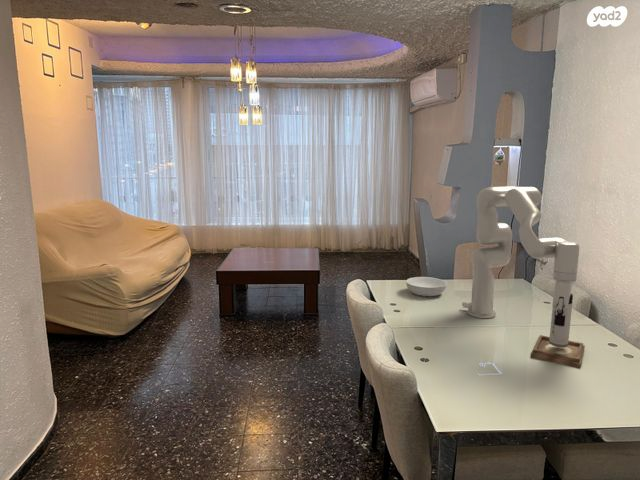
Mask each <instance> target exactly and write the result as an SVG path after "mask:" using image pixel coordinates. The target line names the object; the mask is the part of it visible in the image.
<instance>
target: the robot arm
mask: <svg viewBox="0 0 640 480" xmlns="http://www.w3.org/2000/svg"><path fill="white" fill-rule="evenodd" d="M541 202H542V194H541V192H540V190H539V189H538V188H536V187H534V186H521V185H520V186H519V185H512V186H511V185H508V186H507V185H505V186H504V185H503V186H490V187H486V188H483V189H481V190H480V191H479V192H478V195H477V197H476V207H477V220H476V221H477V222H476V233H475V234H476V242H478V244H480V245H483V246H484V247H483V246H482V247H478V248H476V249H474V250H473V251H472V252H471V255H470V260H471V266H472V282H471V299H470V300H471V301H470V302H464V301H462V303H461V305H462V307H463V308H464V309H465V308H467V314H468V315H469V316H470V317H473V318H478V319H492V318H495V317H496V315H497V312H496V311H495V310H494V294H495V276H494V273H493V271H492V268H500V267H505V266H507V265H508V264H509V263H510V261H511V255H512V243H513V232H512V229H511V227H510V225H509V224H507V223H505V222H498V219H499V213H498V211H497V208H496V207H508V208H509V209H510V211H511V213H512V214H513V215H514V217H515V219H516V220H517V221H518V223H519V225H520V226H519V230H518V235H519V241H520V244H521V245H522V247H523V248H524V250H525V252H526V253H527V254H528V255H529V256H530V257H531V258H532V259H538V260H542V259H550V258H551V259H554V260H553V261H554V262H553V273H552V279H553V280H555V282H554V289H553V299H552V307H554V306H556V305H557V309H556V314H555V323H554V324H555V325H557V326H564V325H565V316H564V315H565V309H566V308H567V307H568V304H569V299H570V296H571V294H572V289H573V283H575V282H576V281H577V277H578V276H577V275H578V267H579V258H580V257H579V256H580V255H579V254H580V244H579V243H577V242H576V241H575V242H574V241H569V240H566V239H563V238H562V237H557V236H555V237H540V238H538V236H537V235H536V234H535V232H534V231H533V228H532V227H533V226H535V225H536V224H538V223H539V221H540V220H541V219H542V213H541V211H540V210H539V208H538V206H540V204H541ZM486 245H487V246H486ZM489 245H494V246H489ZM563 300H564V301H563ZM558 302H559V303H558ZM562 306H564V307H562ZM562 309H563V310H562Z"/></svg>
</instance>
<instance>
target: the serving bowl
mask: <svg viewBox="0 0 640 480" xmlns="http://www.w3.org/2000/svg"><path fill="white" fill-rule="evenodd" d="M405 281H406V287H407V290H408V291H410V292H411V293H412V294H414V295H417V296H420V295H421V296H420V297H426V296H429V297H436V296H439V295H441V294H442V293H444V292H445V290H446V288H447V285H448V284H447V281H445V280H443V279H440V278H436V277H432V276H431V277H429V276H415V277H409V278H407V280H405Z"/></svg>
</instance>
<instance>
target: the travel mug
mask: <svg viewBox="0 0 640 480" xmlns="http://www.w3.org/2000/svg"><path fill="white" fill-rule="evenodd" d="M573 298H574V295H573V293H571V296H570V299H569V304H568V307H567V308H566V309H565V315H564V316H565V325H564V326H557V325H555V324H554V323H555V314H556V309H557V305H556V306H554V307H553V306H552V307H551V308H552V309H551V317H550V318H551V319H550V328H549V329H550V330H549V337H550V339H549V343H550V344H551V345H553V346H556V347H567V346H568V340H569V339H570V328H571V321H572V310H573ZM563 301H564V300H563ZM558 303H559V302H558ZM562 307H564V306H562ZM562 310H563V309H562ZM569 341H570V340H569Z"/></svg>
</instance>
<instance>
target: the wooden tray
mask: <svg viewBox="0 0 640 480" xmlns="http://www.w3.org/2000/svg"><path fill="white" fill-rule="evenodd" d="M549 339H550V336H546V335H542V334H541V335H540V334H539V336H538V338H537V340H536V341H535V344H534V347H532V351H531V353H530V358H533V359H538V360H541V361H546V362H551V363H555V364H561V365H564V366H571V367H573V368H574V367H575V368H579V369H580V368H581V367H582V362H583V357H584V353H585V348H586V346H585V345H584V343H583V342H579V341H573V340H568V346H567V347H556V346H553V345H551V344H550V343H549Z"/></svg>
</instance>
